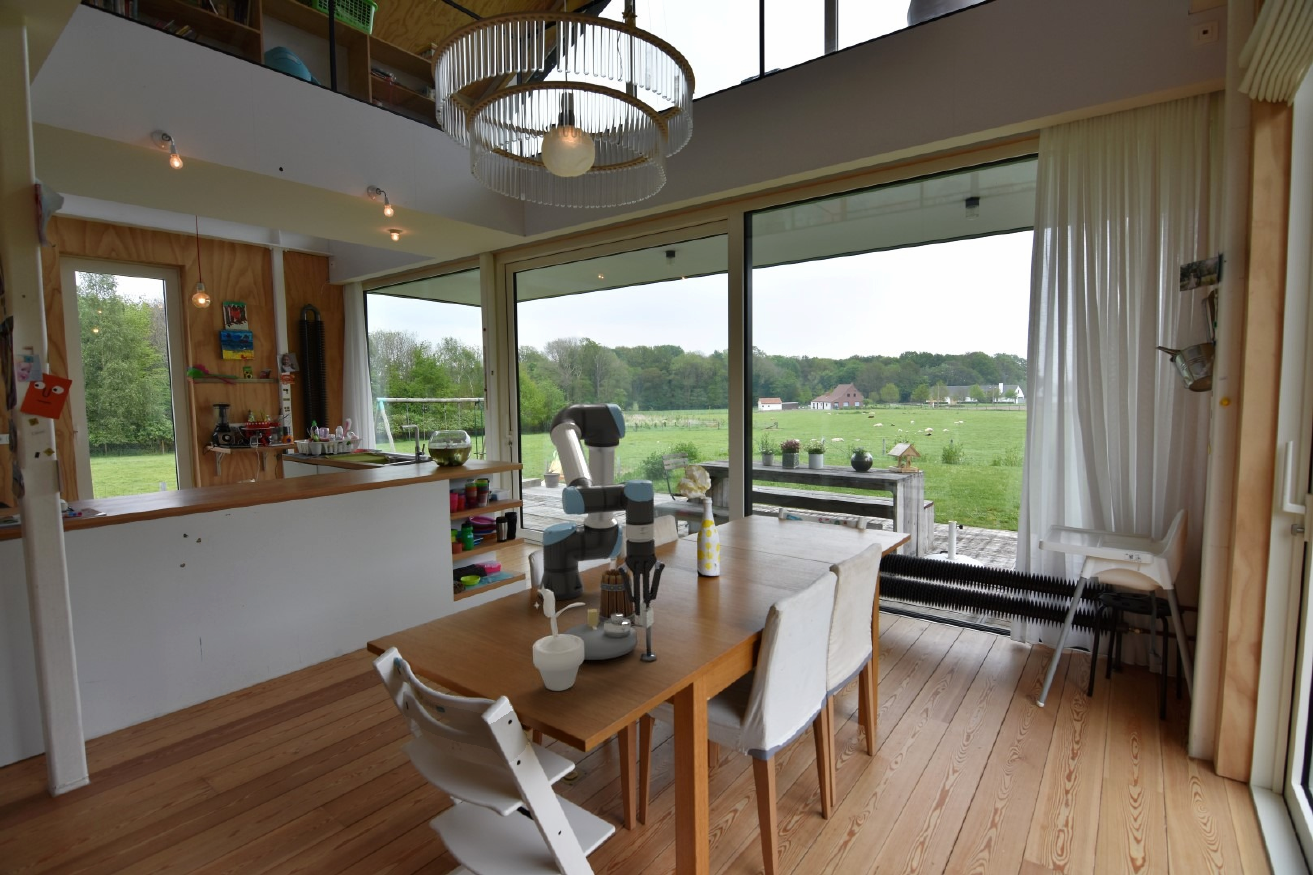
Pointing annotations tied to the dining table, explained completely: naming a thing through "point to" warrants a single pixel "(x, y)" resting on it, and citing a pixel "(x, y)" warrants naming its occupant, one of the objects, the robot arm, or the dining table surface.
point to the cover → (617, 626)
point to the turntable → (601, 639)
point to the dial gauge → (647, 634)
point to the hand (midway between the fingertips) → (642, 626)
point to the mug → (615, 596)
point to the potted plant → (557, 650)
